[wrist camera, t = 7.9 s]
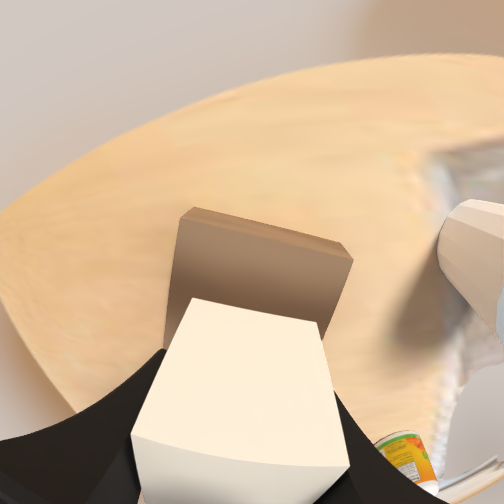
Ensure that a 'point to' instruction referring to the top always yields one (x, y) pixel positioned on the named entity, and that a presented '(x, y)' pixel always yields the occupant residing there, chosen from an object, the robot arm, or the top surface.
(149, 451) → the cream block
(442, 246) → the white cup
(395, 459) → the supplement bottle
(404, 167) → the top surface
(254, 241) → the walnut block
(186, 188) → the top surface
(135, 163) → the top surface
